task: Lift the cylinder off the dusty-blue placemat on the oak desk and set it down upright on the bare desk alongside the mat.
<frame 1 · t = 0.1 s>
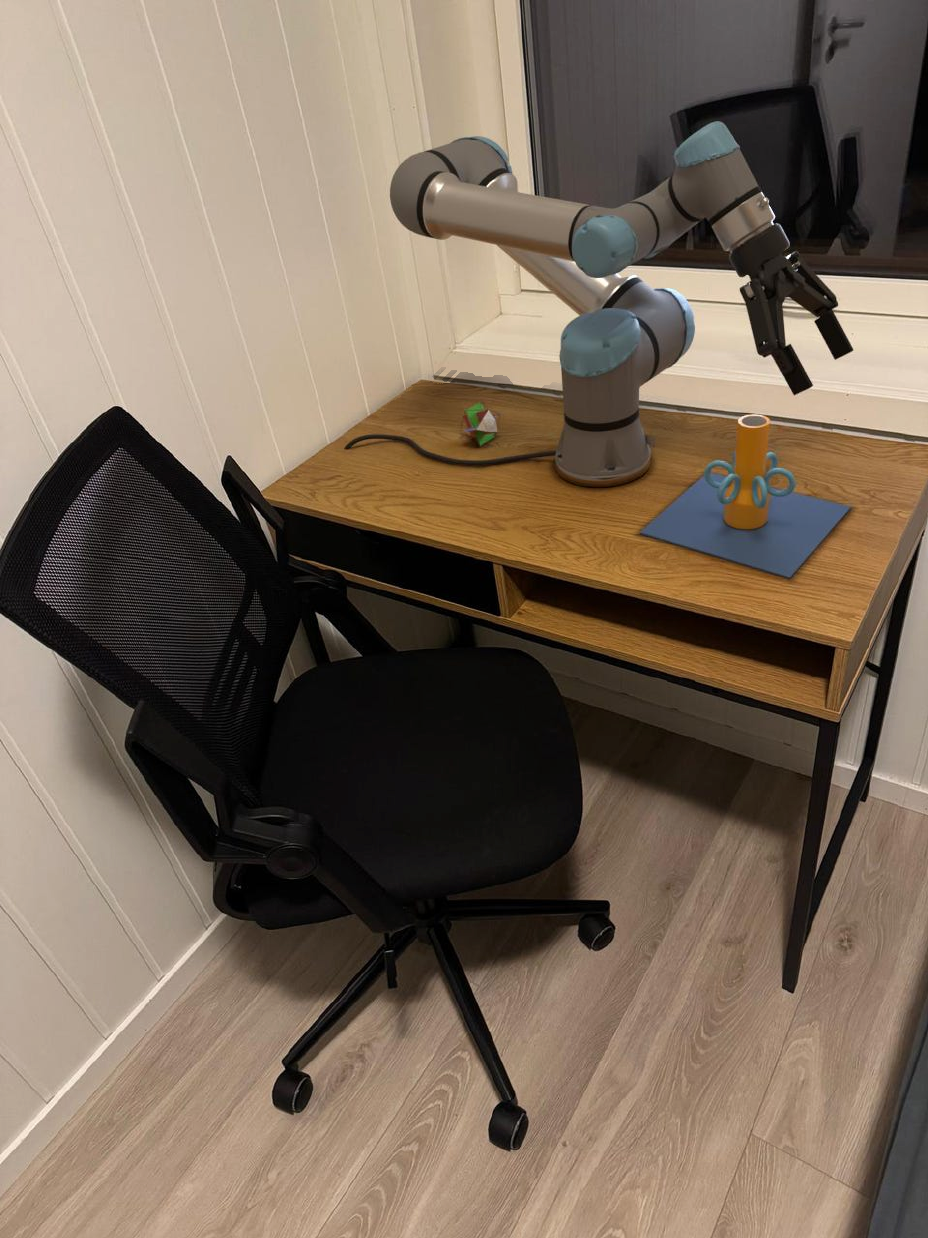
hand: (824, 372, 121), 15 cm above the table, tool tilted 35°, fingers open, 13 cm apart
geometric puzzle: (482, 441, 152), on the table
cylinder: (744, 520, 121), on the table, touching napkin
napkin: (744, 521, 121), on the table
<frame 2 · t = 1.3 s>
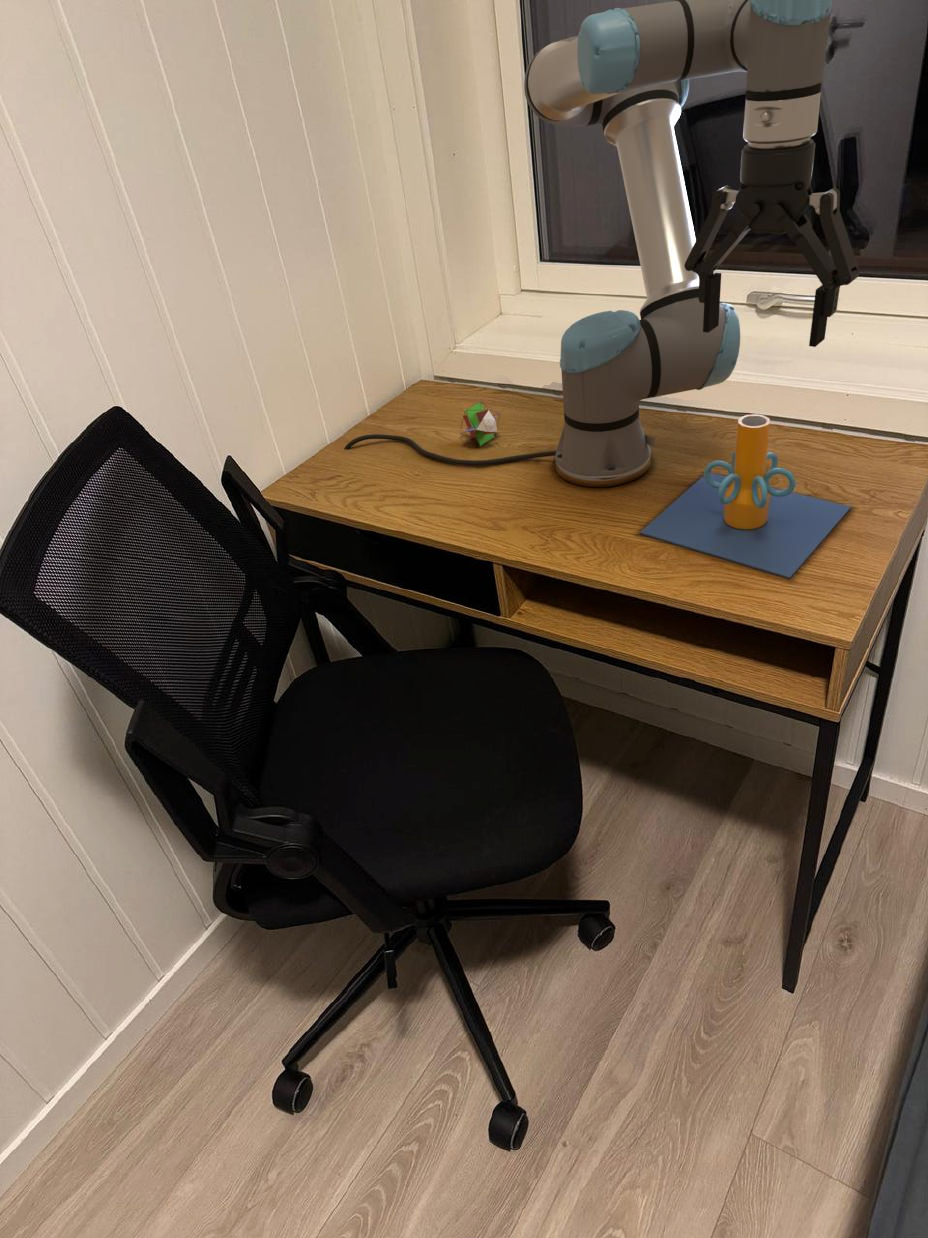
hand: (761, 335, 105), 27 cm above the table, tool pointing down, fingers open, 13 cm apart
nothing on the table moved.
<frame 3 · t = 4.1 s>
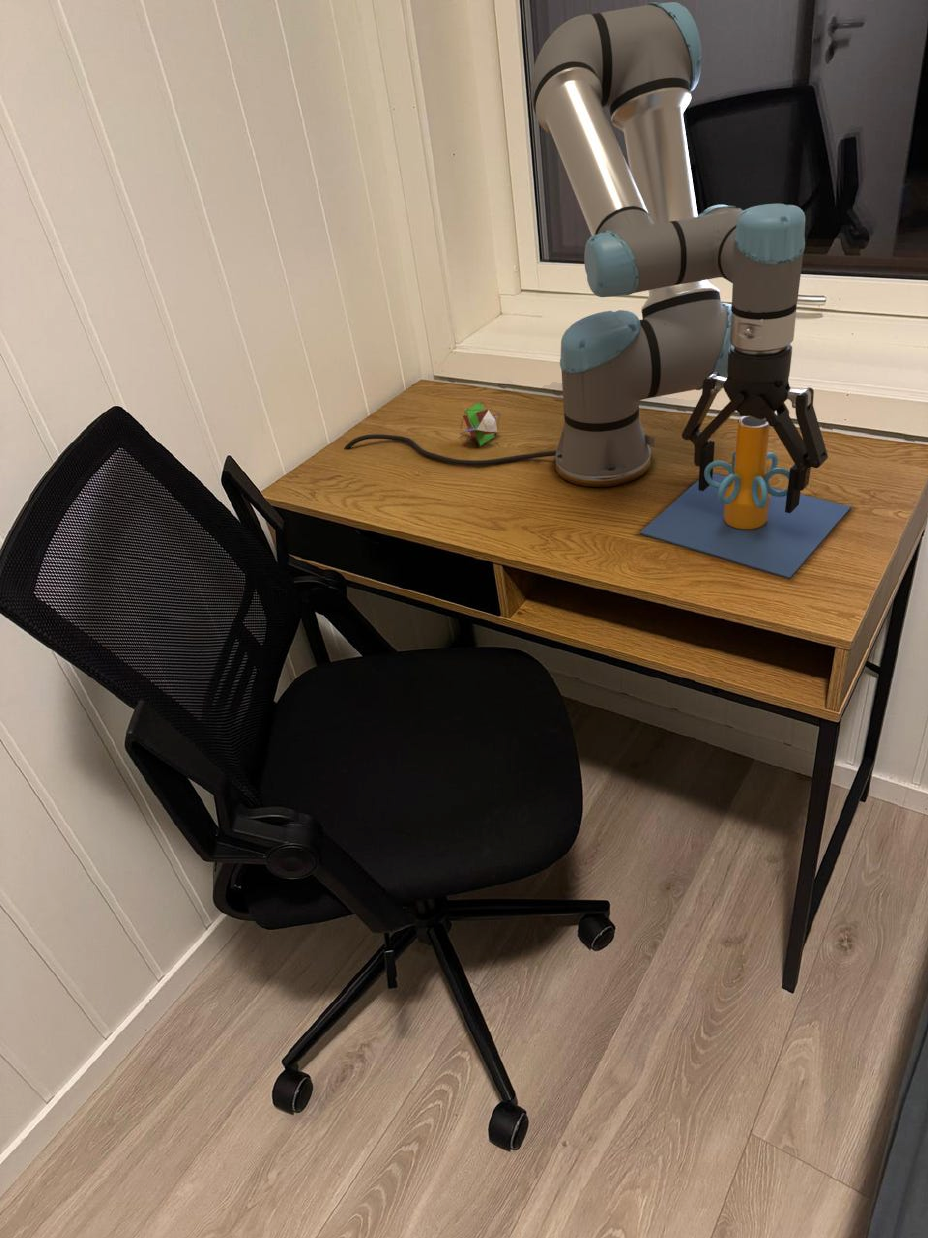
hand: (747, 497, 118), 4 cm above the table, tool pointing down, fingers closed on cylinder, 12 cm apart
cylinder: (744, 520, 121), on the table, touching gripper, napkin
everything else where it was.
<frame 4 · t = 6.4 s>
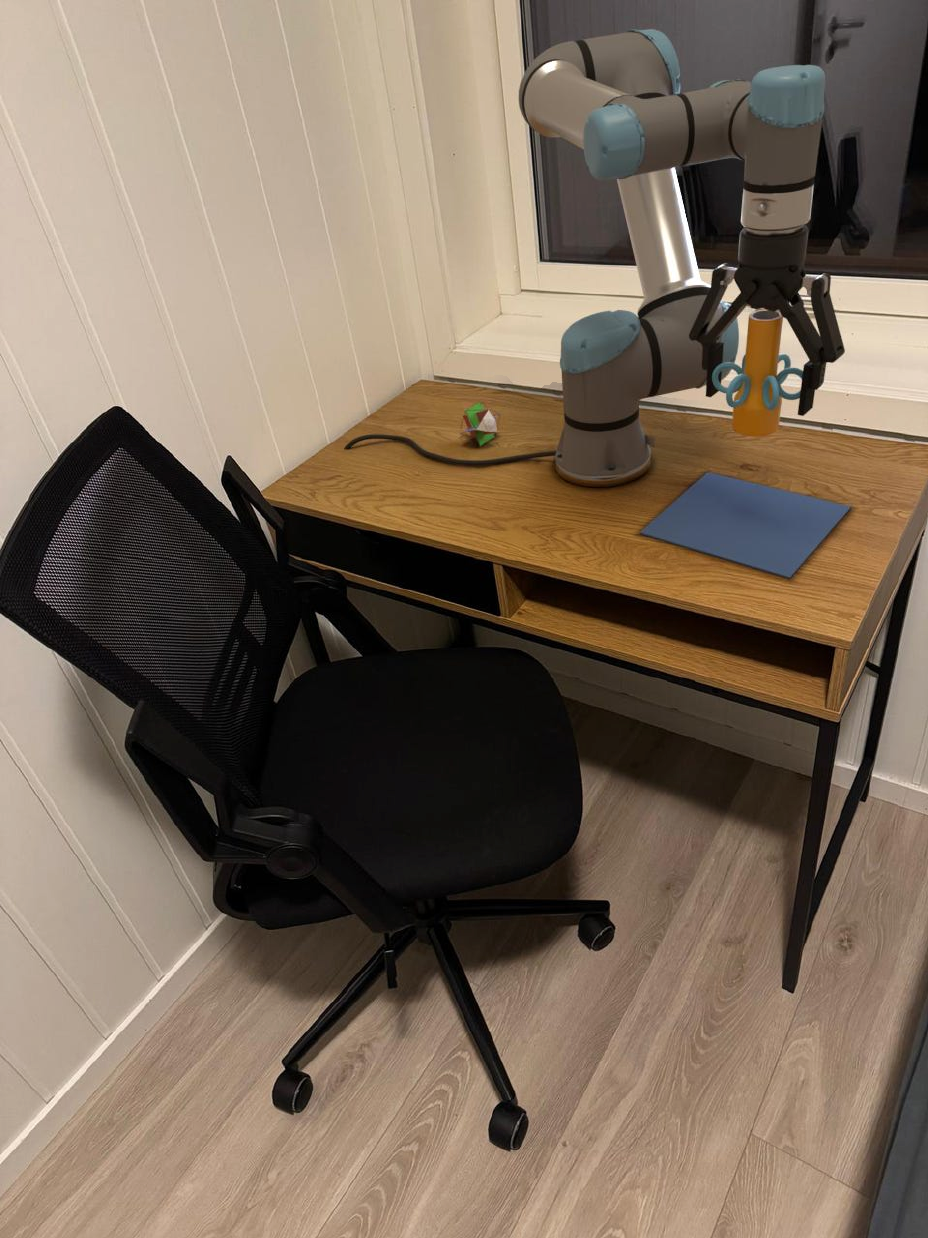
hand: (757, 402, 111), 17 cm above the table, tool pointing down, fingers closed on cylinder, 12 cm apart
cylinder: (754, 428, 114), point 13 cm above the table, touching gripper
everything else where it was.
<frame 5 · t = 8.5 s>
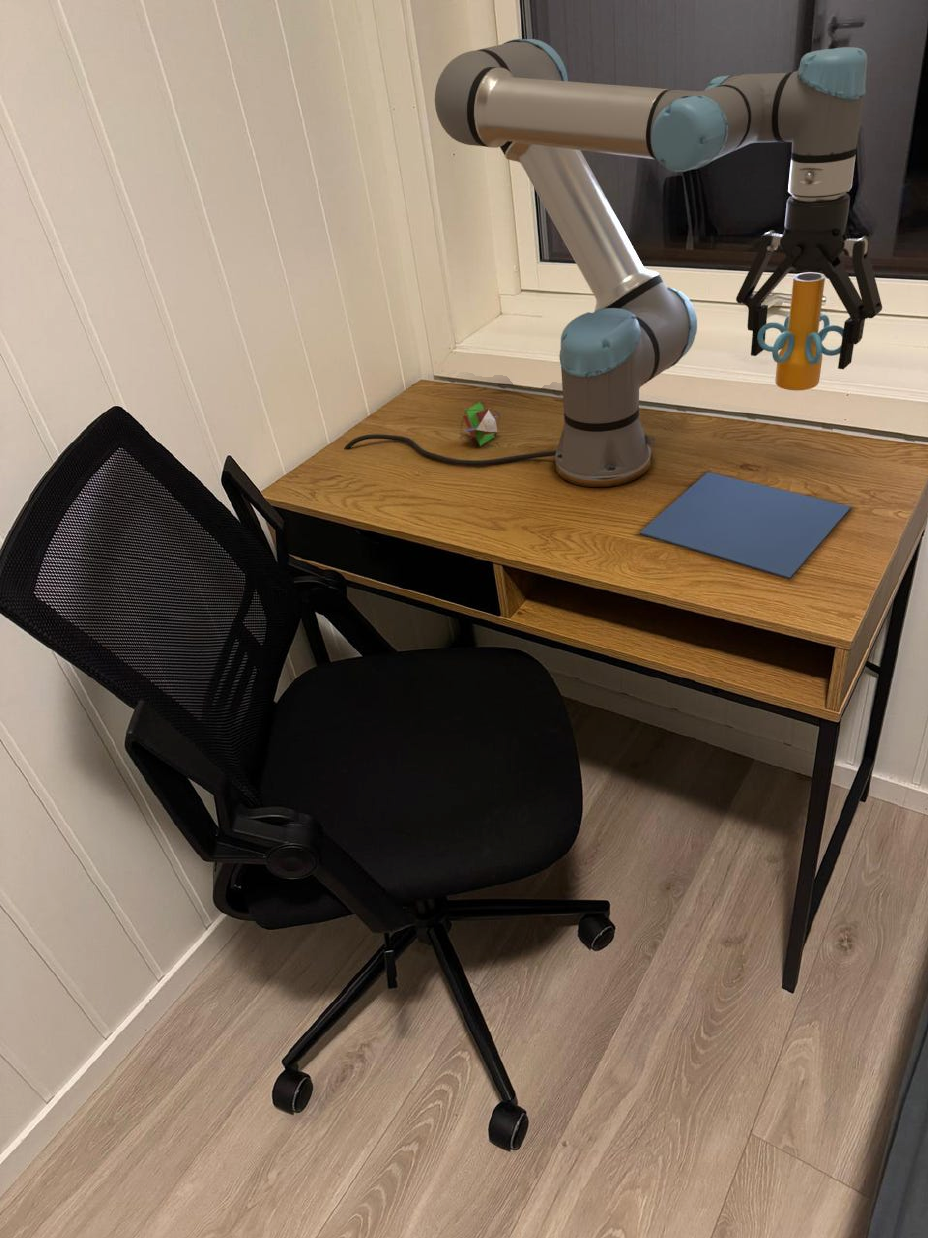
hand: (799, 358, 122), 17 cm above the table, tool pointing down, fingers closed on cylinder, 12 cm apart
cylinder: (796, 384, 124), point 13 cm above the table, touching gripper
everything else where it was.
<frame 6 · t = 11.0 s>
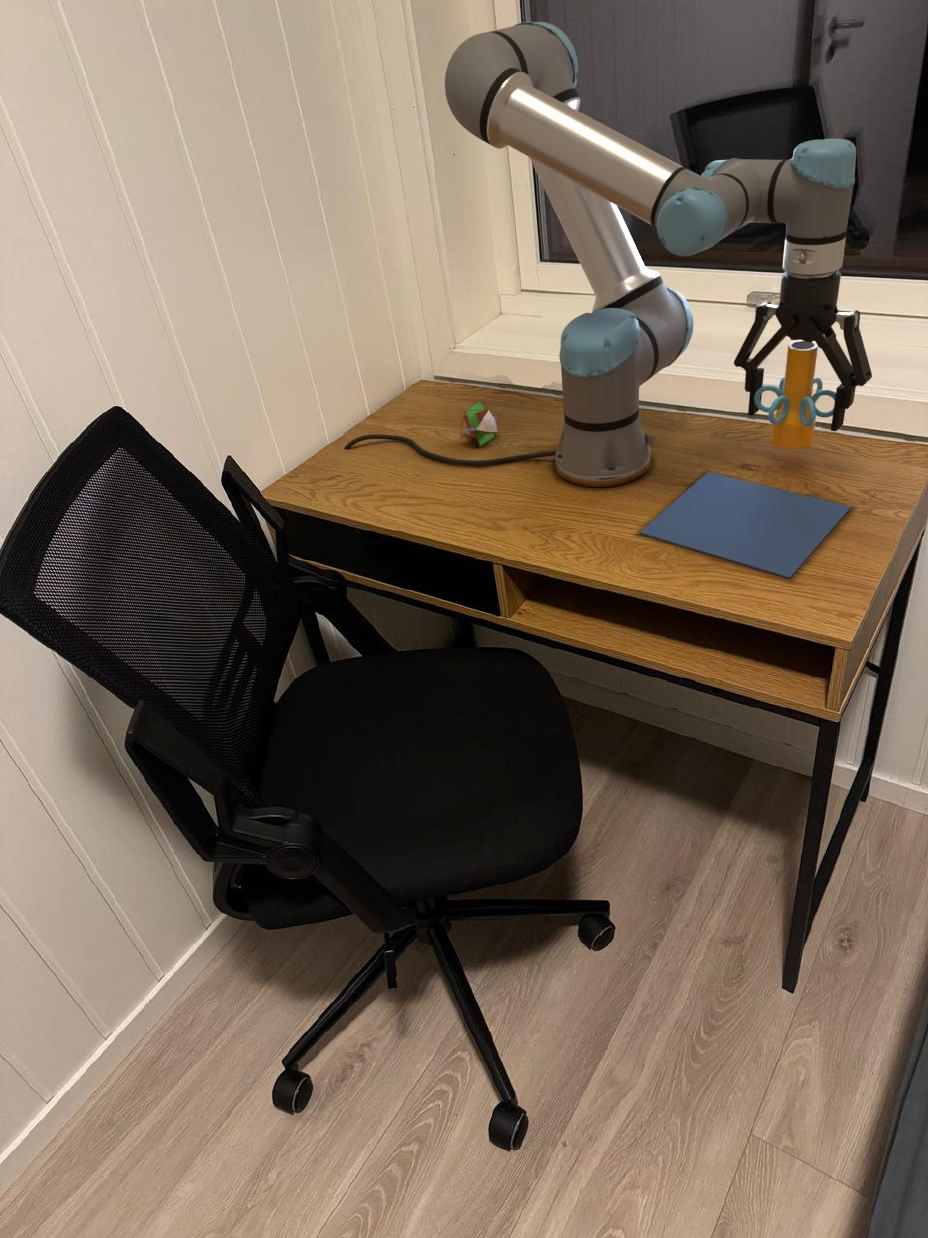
hand: (794, 419, 128), 7 cm above the table, tool pointing down, fingers closed on cylinder, 12 cm apart
cylinder: (791, 442, 130), point 3 cm above the table, touching gripper
everything else where it was.
when the fingers open (4 cm above the table, at t = 12.8 s): cylinder stays where it is, on the table.
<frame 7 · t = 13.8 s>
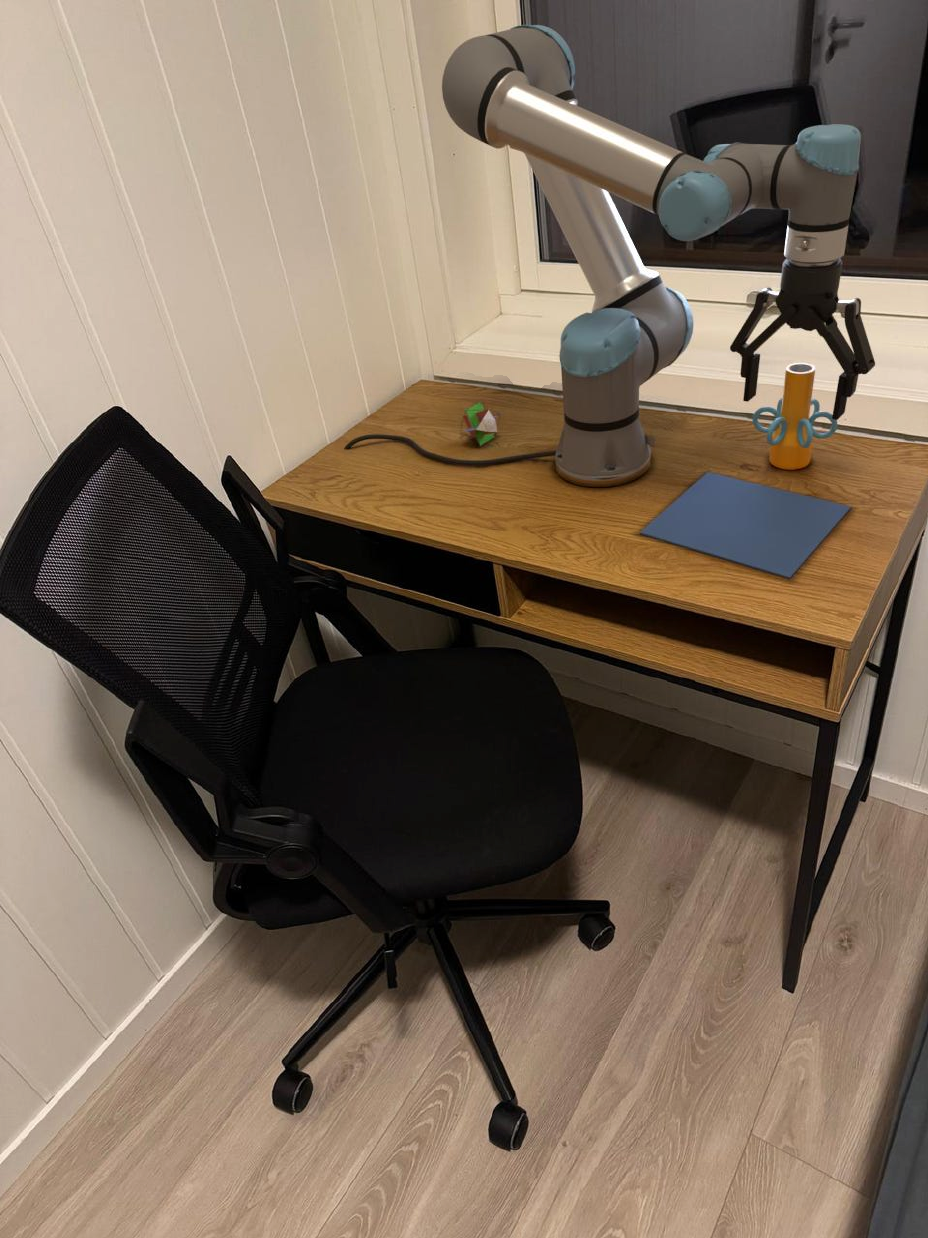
hand: (792, 406, 127), 9 cm above the table, tool pointing down, fingers open, 13 cm apart
cylinder: (788, 462, 133), on the table
everything else where it was.
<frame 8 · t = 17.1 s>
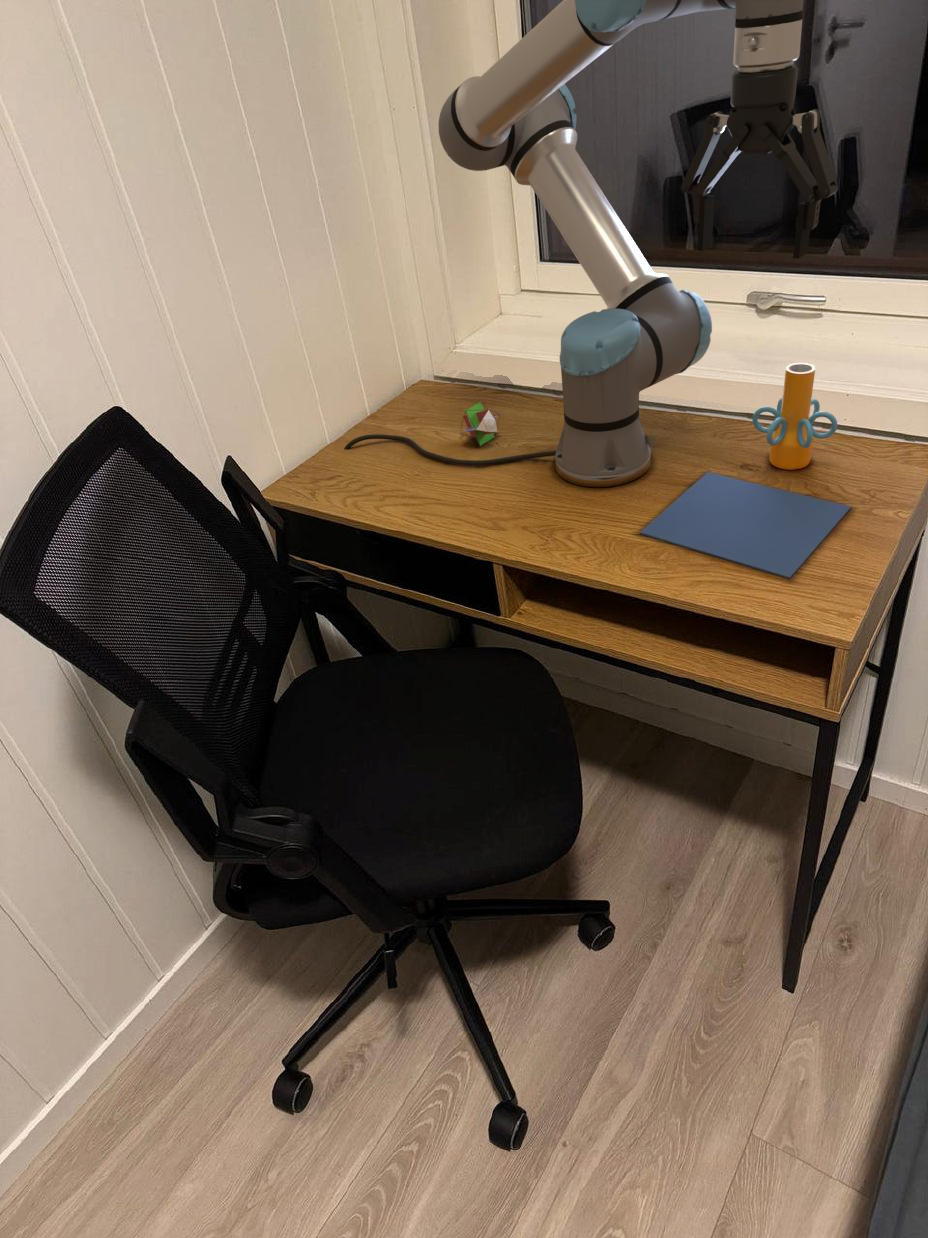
hand: (750, 251, 115), 32 cm above the table, tool pointing down, fingers open, 13 cm apart
nothing on the table moved.
at the end: cylinder touching table; cylinder inside the target area (0.5 cm from its centre), on the table; cylinder tilted 0° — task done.
